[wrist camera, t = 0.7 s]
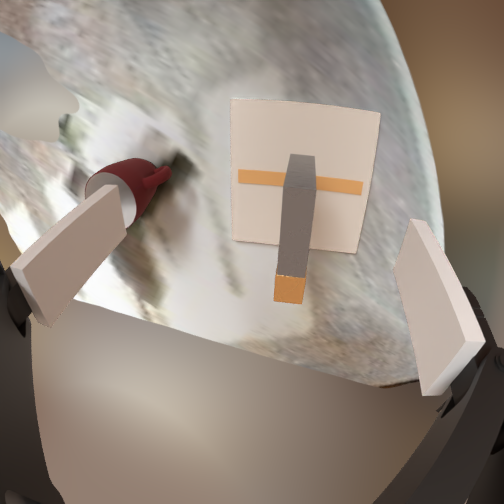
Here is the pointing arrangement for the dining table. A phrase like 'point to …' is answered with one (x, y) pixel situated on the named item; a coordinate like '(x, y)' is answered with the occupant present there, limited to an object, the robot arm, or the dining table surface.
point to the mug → (130, 184)
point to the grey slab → (295, 228)
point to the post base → (303, 143)
